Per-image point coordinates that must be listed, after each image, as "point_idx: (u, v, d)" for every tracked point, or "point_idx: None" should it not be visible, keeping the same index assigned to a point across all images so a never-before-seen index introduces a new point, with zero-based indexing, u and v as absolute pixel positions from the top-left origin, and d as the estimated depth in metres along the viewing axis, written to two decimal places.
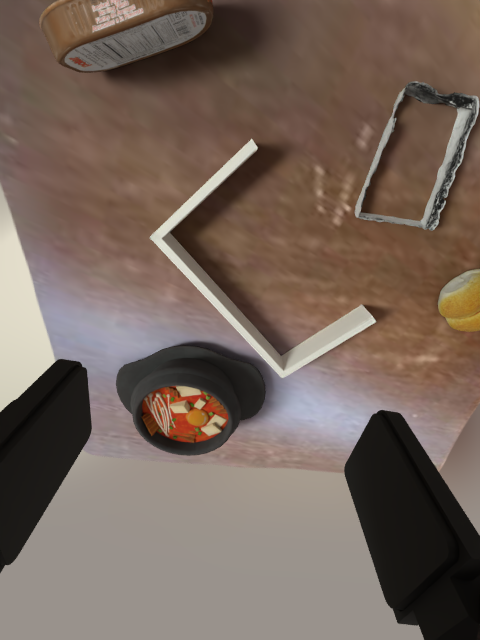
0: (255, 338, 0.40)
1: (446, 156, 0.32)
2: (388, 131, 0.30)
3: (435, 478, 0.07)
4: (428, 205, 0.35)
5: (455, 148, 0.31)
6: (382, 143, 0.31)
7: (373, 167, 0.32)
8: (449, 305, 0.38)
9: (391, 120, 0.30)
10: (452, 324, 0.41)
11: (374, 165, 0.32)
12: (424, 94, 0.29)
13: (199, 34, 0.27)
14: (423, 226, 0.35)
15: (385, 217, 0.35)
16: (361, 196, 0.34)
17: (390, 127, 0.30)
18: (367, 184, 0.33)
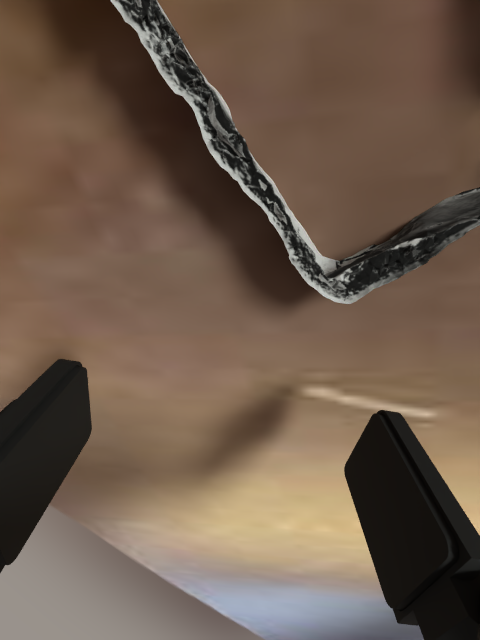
0: None
1: (250, 153, 0.08)
2: None
3: (435, 478, 0.07)
4: None
5: None
6: None
7: None
8: None
9: None
10: None
11: None
12: None
13: None
14: None
15: None
16: None
17: None
18: None
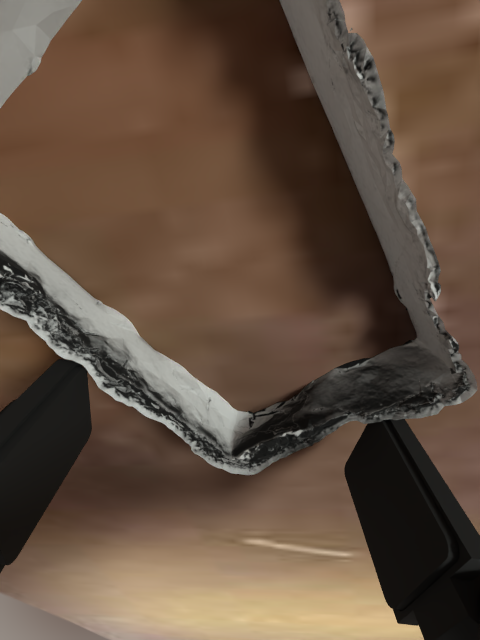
0: None
1: (153, 355, 0.10)
2: None
3: (435, 478, 0.07)
4: (11, 233, 0.08)
5: (160, 388, 0.09)
6: (384, 209, 0.07)
7: None
8: None
9: (413, 282, 0.07)
10: None
11: (352, 111, 0.06)
12: (373, 389, 0.09)
13: None
14: None
15: (47, 2, 0.06)
16: None
17: (416, 265, 0.07)
18: None
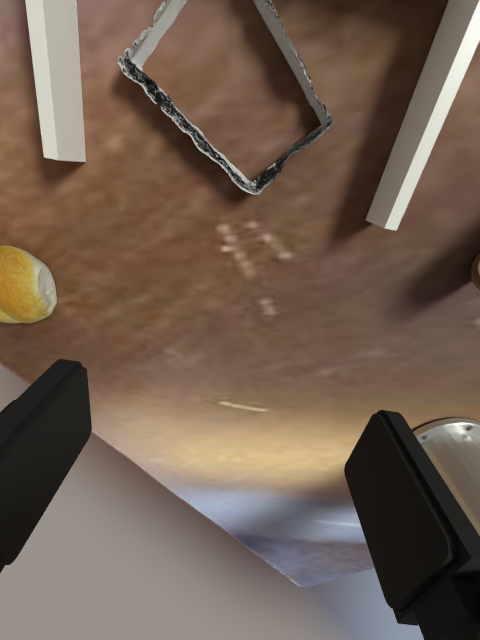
0: None
1: (212, 146, 0.23)
2: None
3: (435, 478, 0.07)
4: None
5: None
6: (290, 56, 0.20)
7: None
8: (17, 263, 0.26)
9: (307, 86, 0.21)
10: None
11: (272, 21, 0.19)
12: (302, 142, 0.22)
13: (476, 263, 0.26)
14: (131, 56, 0.20)
15: (180, 2, 0.19)
16: None
17: (303, 74, 0.20)
18: None
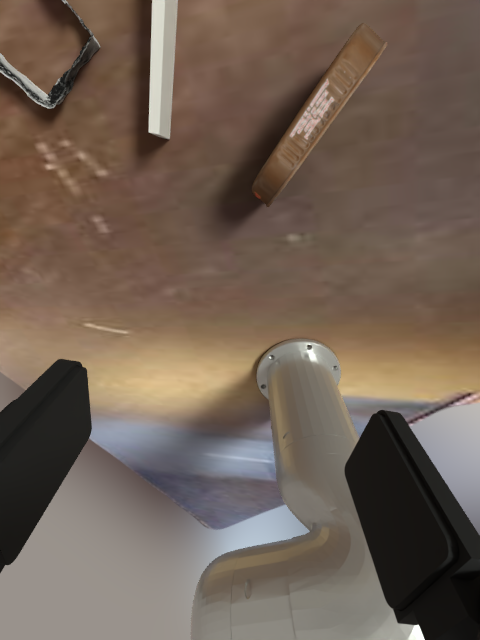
0: None
1: (13, 68, 0.27)
2: None
3: (435, 478, 0.07)
4: None
5: (13, 72, 0.27)
6: None
7: None
8: None
9: (71, 8, 0.25)
10: None
11: None
12: None
13: None
14: None
15: None
16: None
17: None
18: None
